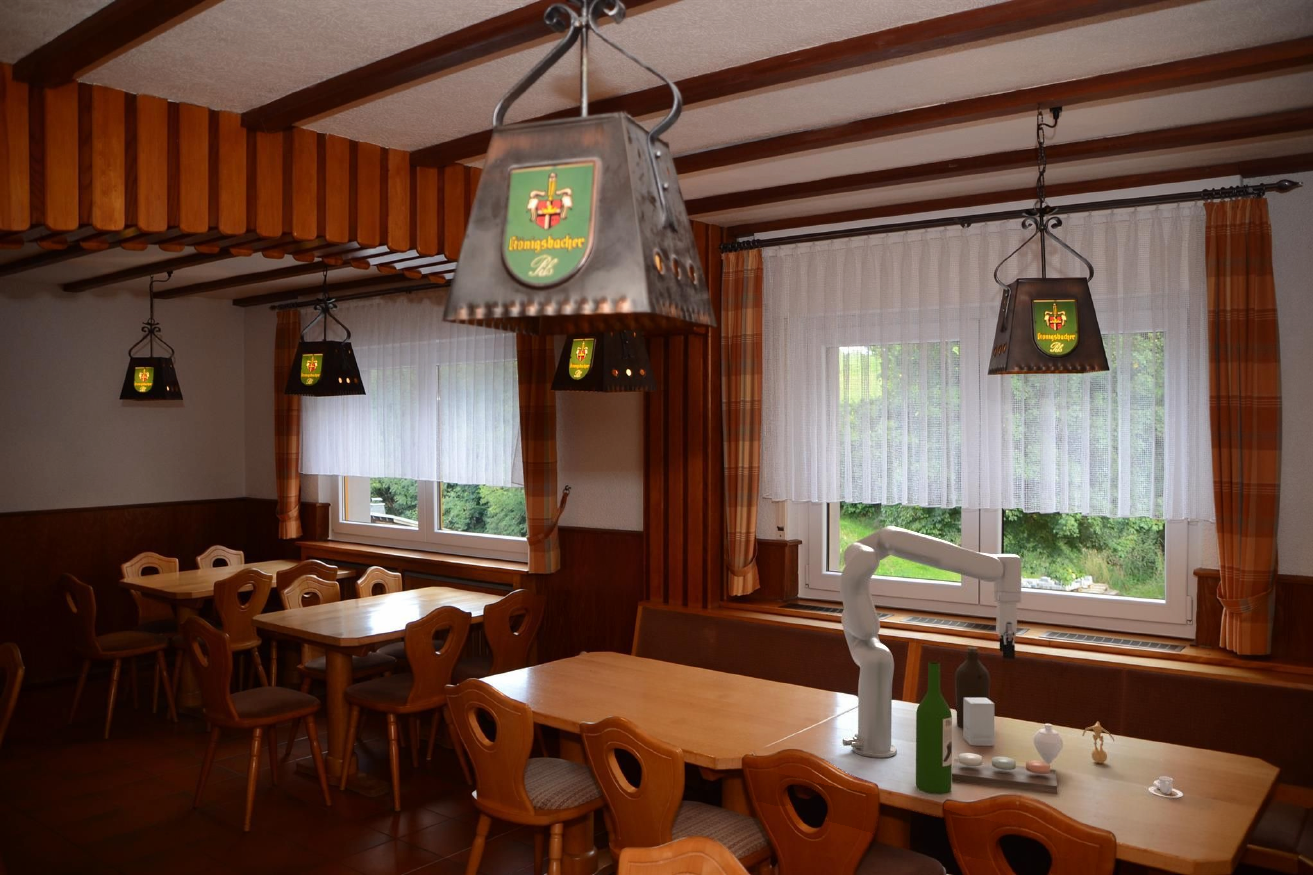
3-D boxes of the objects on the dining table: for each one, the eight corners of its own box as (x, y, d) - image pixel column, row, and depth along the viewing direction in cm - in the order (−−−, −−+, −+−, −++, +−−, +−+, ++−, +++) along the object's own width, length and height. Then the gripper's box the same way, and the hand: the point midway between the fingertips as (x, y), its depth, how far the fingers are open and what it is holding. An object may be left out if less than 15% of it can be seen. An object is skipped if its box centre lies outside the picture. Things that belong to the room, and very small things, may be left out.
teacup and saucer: (1153, 785, 255) (1153, 769, 255) (1186, 792, 250) (1186, 776, 250) (1145, 794, 249) (1145, 778, 249) (1179, 801, 244) (1179, 785, 244)
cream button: (967, 766, 257) (967, 760, 257) (954, 759, 263) (954, 753, 263) (986, 764, 259) (986, 759, 259) (973, 757, 264) (973, 752, 264)
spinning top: (1033, 770, 265) (1033, 726, 265) (1032, 761, 273) (1033, 719, 273) (1063, 773, 263) (1063, 729, 263) (1062, 764, 270) (1062, 722, 270)
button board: (1057, 793, 247) (1057, 786, 247) (951, 781, 256) (951, 773, 256) (1054, 777, 259) (1054, 770, 260) (954, 765, 268) (954, 758, 268)
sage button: (1001, 770, 254) (1001, 764, 254) (987, 763, 260) (987, 757, 260) (1020, 768, 256) (1020, 762, 256) (1006, 761, 262) (1006, 755, 262)
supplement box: (995, 746, 286) (995, 703, 287) (969, 745, 287) (970, 703, 287) (987, 738, 294) (987, 697, 294) (962, 738, 294) (962, 696, 294)
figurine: (1116, 763, 271) (1116, 721, 271) (1112, 769, 266) (1112, 726, 266) (1085, 758, 276) (1085, 716, 276) (1080, 763, 271) (1080, 721, 271)
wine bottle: (946, 796, 245) (946, 668, 245) (911, 789, 249) (912, 664, 250) (955, 786, 252) (956, 662, 252) (921, 779, 257) (922, 657, 257)
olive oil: (996, 727, 306) (997, 648, 306) (976, 732, 299) (977, 652, 300) (967, 719, 314) (968, 642, 314) (947, 724, 308) (948, 646, 308)
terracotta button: (1035, 774, 251) (1035, 768, 251) (1020, 767, 257) (1021, 761, 257) (1055, 772, 253) (1055, 766, 253) (1040, 765, 259) (1040, 759, 259)
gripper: (991, 591, 292) (990, 648, 292) (996, 600, 275) (996, 660, 275) (1017, 592, 290) (1017, 649, 290) (1024, 601, 273) (1024, 662, 273)
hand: (1006, 654), depth 282 cm, fingers open, 9 cm apart
